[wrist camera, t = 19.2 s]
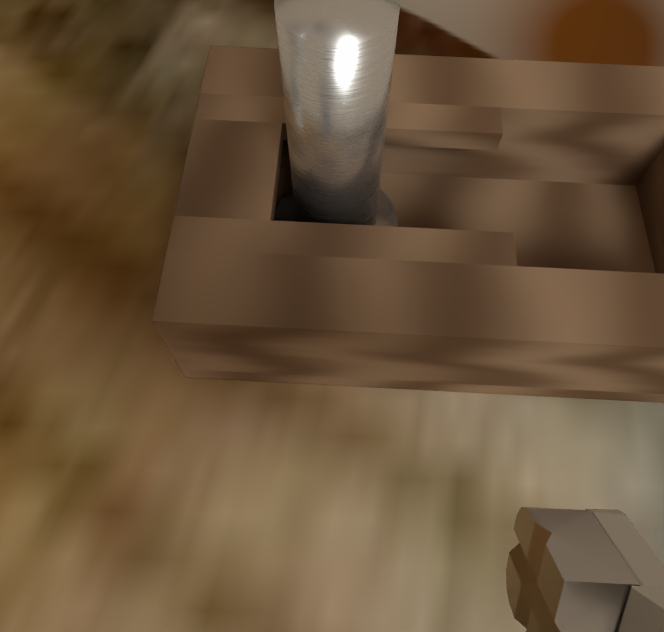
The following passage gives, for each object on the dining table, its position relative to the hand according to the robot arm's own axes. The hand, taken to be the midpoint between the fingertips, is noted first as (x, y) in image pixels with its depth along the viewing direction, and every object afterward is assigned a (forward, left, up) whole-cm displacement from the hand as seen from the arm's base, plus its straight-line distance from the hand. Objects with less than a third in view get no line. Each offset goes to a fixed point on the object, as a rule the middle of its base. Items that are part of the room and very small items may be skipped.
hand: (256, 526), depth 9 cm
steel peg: (+1, +15, -13) cm, 20 cm away
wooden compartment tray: (+6, +15, -14) cm, 21 cm away
